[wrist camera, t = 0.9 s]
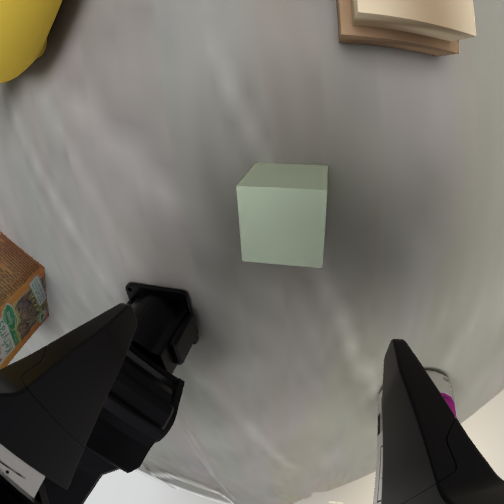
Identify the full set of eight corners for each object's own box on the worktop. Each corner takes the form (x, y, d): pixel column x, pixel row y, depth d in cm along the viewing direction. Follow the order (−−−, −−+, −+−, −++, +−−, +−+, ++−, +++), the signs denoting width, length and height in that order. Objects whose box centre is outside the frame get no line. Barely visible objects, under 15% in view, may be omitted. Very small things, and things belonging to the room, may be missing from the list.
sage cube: (259, 225, 21) (242, 261, 18) (256, 162, 19) (236, 186, 15) (324, 230, 20) (322, 268, 17) (327, 165, 18) (327, 190, 14)
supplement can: (461, 366, 24) (480, 502, 12) (431, 407, 28) (434, 522, 16) (391, 364, 26) (391, 516, 13) (369, 406, 30) (359, 528, 18)
